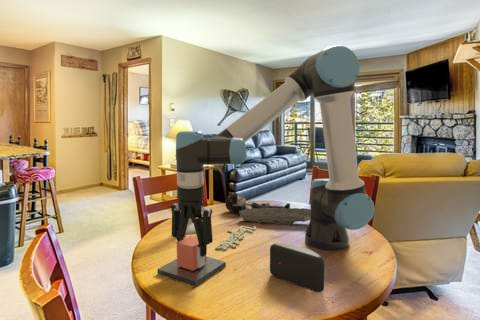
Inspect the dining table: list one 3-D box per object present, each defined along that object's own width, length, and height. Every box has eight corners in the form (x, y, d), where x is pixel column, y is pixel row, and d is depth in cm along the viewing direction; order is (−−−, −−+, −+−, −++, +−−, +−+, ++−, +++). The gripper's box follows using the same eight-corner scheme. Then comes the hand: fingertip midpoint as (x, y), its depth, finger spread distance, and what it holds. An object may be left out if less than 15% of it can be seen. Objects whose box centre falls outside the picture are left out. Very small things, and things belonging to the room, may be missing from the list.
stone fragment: (236, 214, 134) (237, 204, 137) (238, 225, 140) (239, 216, 144) (313, 218, 129) (312, 207, 132) (311, 229, 135) (311, 219, 139)
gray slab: (225, 266, 96) (225, 245, 95) (195, 286, 84) (195, 263, 84) (189, 256, 103) (189, 237, 103) (157, 273, 92) (156, 252, 91)
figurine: (283, 208, 136) (218, 195, 145) (280, 229, 137) (216, 215, 146) (291, 198, 154) (233, 187, 163) (289, 216, 155) (231, 204, 165)
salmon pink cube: (206, 262, 95) (206, 240, 94) (193, 270, 89) (192, 246, 89) (190, 258, 98) (190, 236, 97) (177, 265, 93) (176, 242, 92)
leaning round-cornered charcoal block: (329, 288, 83) (330, 253, 82) (321, 295, 80) (322, 259, 79) (277, 270, 94) (277, 239, 93) (268, 275, 90) (268, 243, 89)
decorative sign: (235, 223, 134) (258, 226, 131) (235, 226, 134) (258, 228, 131) (206, 246, 110) (233, 250, 106) (206, 249, 110) (233, 253, 106)
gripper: (156, 184, 93) (159, 260, 95) (209, 192, 83) (210, 276, 85) (174, 180, 99) (176, 252, 102) (225, 186, 89) (226, 266, 92)
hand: (192, 263), depth 94 cm, fingers closed on salmon pink cube, 6 cm apart
